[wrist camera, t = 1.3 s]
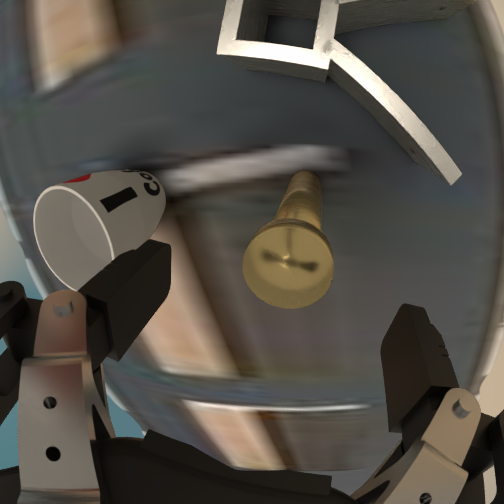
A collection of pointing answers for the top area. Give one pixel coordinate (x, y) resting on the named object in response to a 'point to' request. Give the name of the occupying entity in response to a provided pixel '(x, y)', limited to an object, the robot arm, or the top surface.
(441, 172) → the grey finned stand
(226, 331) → the top surface
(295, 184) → the pin
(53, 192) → the cup
